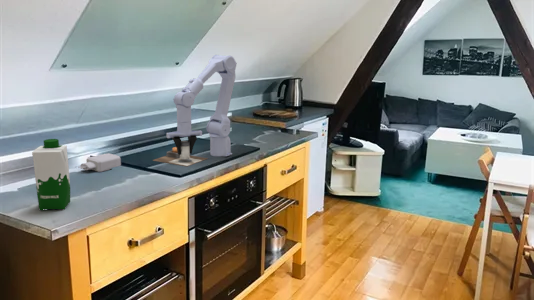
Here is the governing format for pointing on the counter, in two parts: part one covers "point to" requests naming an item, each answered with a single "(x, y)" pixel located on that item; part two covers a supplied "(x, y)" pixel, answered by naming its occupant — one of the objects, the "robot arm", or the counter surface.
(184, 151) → the salt shaker
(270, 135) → the counter surface
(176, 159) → the board
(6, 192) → the counter surface
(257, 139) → the counter surface
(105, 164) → the charger
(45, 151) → the milk carton
